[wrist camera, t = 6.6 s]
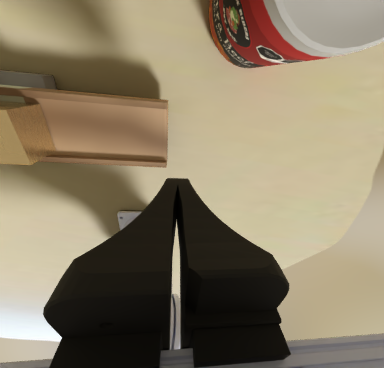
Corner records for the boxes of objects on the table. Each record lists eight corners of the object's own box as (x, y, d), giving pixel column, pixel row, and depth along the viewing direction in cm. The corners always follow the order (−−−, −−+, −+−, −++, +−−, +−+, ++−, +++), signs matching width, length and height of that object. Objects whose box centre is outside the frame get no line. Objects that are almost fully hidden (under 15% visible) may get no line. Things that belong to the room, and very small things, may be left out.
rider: (56, 150, 16) (31, 165, 13) (-4, 146, 15) (-43, 161, 13) (39, 103, 14) (5, 110, 11) (-30, 98, 13) (-84, 103, 10)
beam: (167, 161, 21) (165, 178, 17) (-80, 148, 18) (-144, 166, 14) (169, 87, 16) (166, 89, 13) (-156, 54, 13) (-274, 45, 10)
